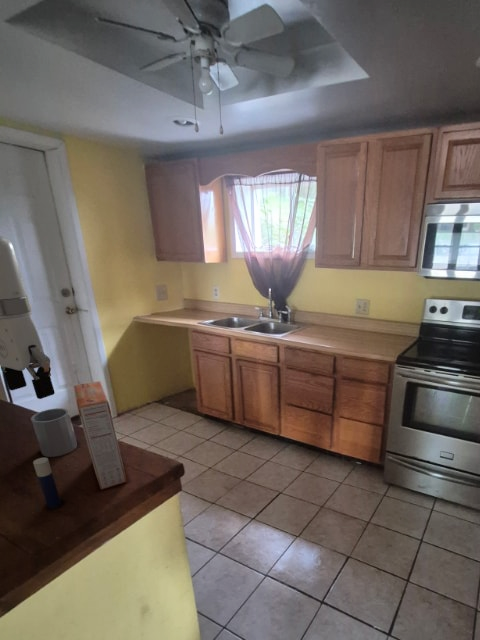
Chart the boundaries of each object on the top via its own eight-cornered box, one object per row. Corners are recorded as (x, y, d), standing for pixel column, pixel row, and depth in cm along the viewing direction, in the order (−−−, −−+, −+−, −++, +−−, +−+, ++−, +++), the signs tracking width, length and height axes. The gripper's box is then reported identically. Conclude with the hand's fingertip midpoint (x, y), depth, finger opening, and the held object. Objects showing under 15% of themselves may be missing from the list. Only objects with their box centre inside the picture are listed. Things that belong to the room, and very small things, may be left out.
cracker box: (92, 462, 93) (72, 384, 85) (118, 455, 96) (101, 379, 88) (98, 491, 82) (76, 406, 74) (127, 483, 85) (109, 400, 77)
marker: (44, 509, 77) (30, 464, 72) (52, 501, 79) (38, 457, 75) (57, 509, 77) (43, 464, 72) (63, 501, 79) (50, 457, 75)
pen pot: (34, 457, 95) (23, 422, 91) (53, 441, 102) (43, 408, 98) (66, 456, 95) (56, 422, 91) (83, 440, 103) (74, 408, 99)
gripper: (-42, 307, 70) (-12, 391, 77) (9, 315, 63) (38, 407, 69) (2, 301, 76) (26, 379, 83) (54, 308, 69) (76, 393, 75)
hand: (31, 392), depth 76 cm, fingers open, 9 cm apart
